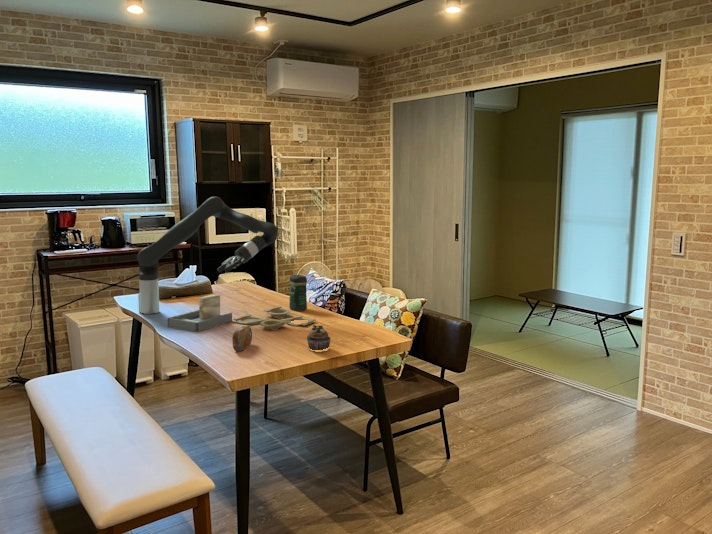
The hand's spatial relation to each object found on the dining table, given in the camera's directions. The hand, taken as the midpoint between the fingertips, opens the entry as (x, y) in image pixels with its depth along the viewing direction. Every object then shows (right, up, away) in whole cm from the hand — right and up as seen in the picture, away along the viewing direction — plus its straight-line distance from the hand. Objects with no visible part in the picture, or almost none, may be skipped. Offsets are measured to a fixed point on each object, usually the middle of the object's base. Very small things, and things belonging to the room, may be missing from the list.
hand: (221, 271), depth 276 cm
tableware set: (+25, -25, +2) cm, 36 cm away
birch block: (-6, -22, +2) cm, 23 cm away
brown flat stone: (+18, -31, -41) cm, 55 cm away
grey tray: (-9, -25, -3) cm, 27 cm away
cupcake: (+49, -32, -42) cm, 72 cm away
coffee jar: (+34, -21, +30) cm, 50 cm away
